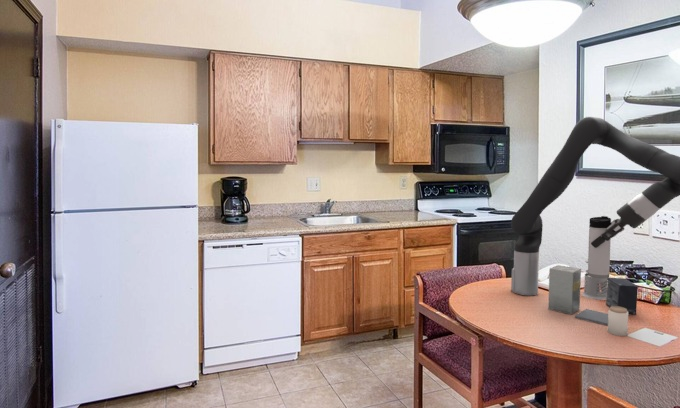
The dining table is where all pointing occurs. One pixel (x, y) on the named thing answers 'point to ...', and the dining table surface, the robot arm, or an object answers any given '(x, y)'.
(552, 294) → the box
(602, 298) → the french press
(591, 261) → the travel mug
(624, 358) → the dining table surface
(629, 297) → the small box
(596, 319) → the slate pad
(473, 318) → the dining table surface
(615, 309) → the cream jar
